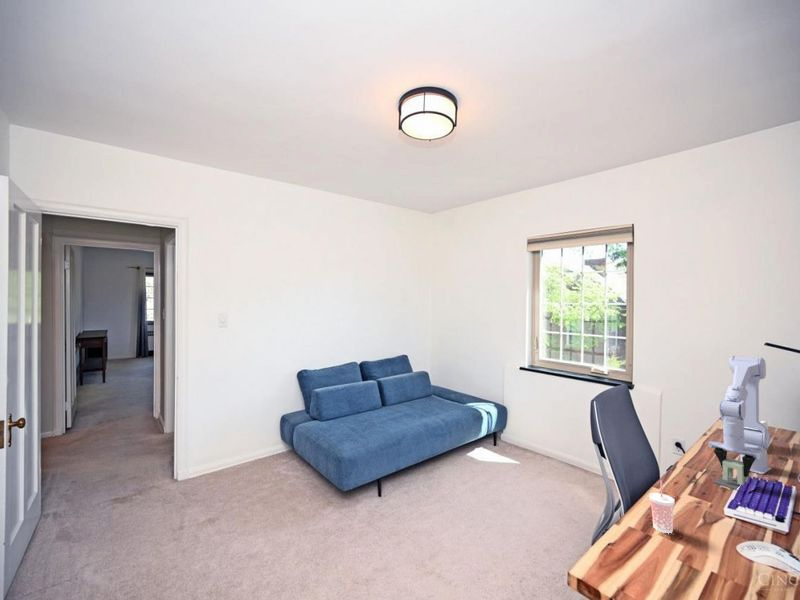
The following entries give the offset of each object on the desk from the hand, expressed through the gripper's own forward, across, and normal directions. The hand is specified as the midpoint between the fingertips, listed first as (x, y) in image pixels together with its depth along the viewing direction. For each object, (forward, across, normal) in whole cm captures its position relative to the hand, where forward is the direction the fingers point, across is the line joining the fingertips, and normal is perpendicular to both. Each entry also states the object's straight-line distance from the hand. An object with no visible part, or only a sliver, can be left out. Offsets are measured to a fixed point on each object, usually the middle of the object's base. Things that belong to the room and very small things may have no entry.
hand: (735, 473), depth 136 cm
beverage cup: (+4, 0, -52) cm, 52 cm away
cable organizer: (+4, -12, +52) cm, 53 cm away
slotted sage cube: (+3, 0, 0) cm, 3 cm away
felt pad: (+4, 0, 0) cm, 4 cm away
